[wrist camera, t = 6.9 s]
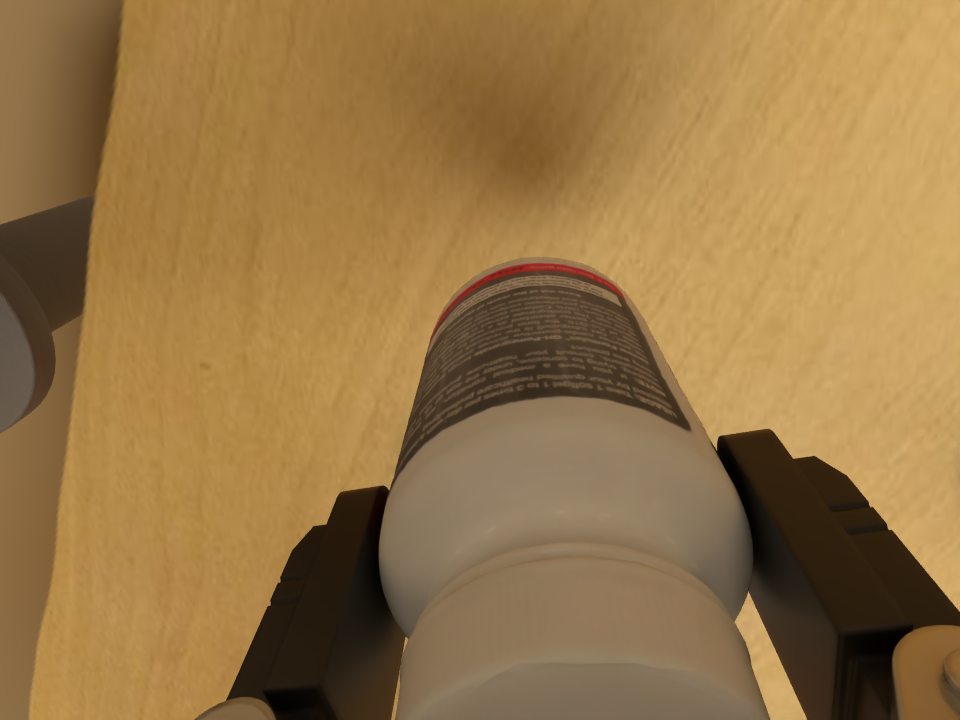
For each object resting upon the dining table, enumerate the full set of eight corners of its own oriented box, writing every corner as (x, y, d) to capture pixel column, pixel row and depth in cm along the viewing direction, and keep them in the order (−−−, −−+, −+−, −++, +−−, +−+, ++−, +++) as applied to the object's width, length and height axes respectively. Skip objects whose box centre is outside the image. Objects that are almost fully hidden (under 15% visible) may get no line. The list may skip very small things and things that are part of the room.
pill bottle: (386, 356, 15) (215, 775, 6) (541, 202, 13) (617, 488, 4) (534, 477, 16) (568, 951, 8) (691, 356, 14) (975, 800, 6)
